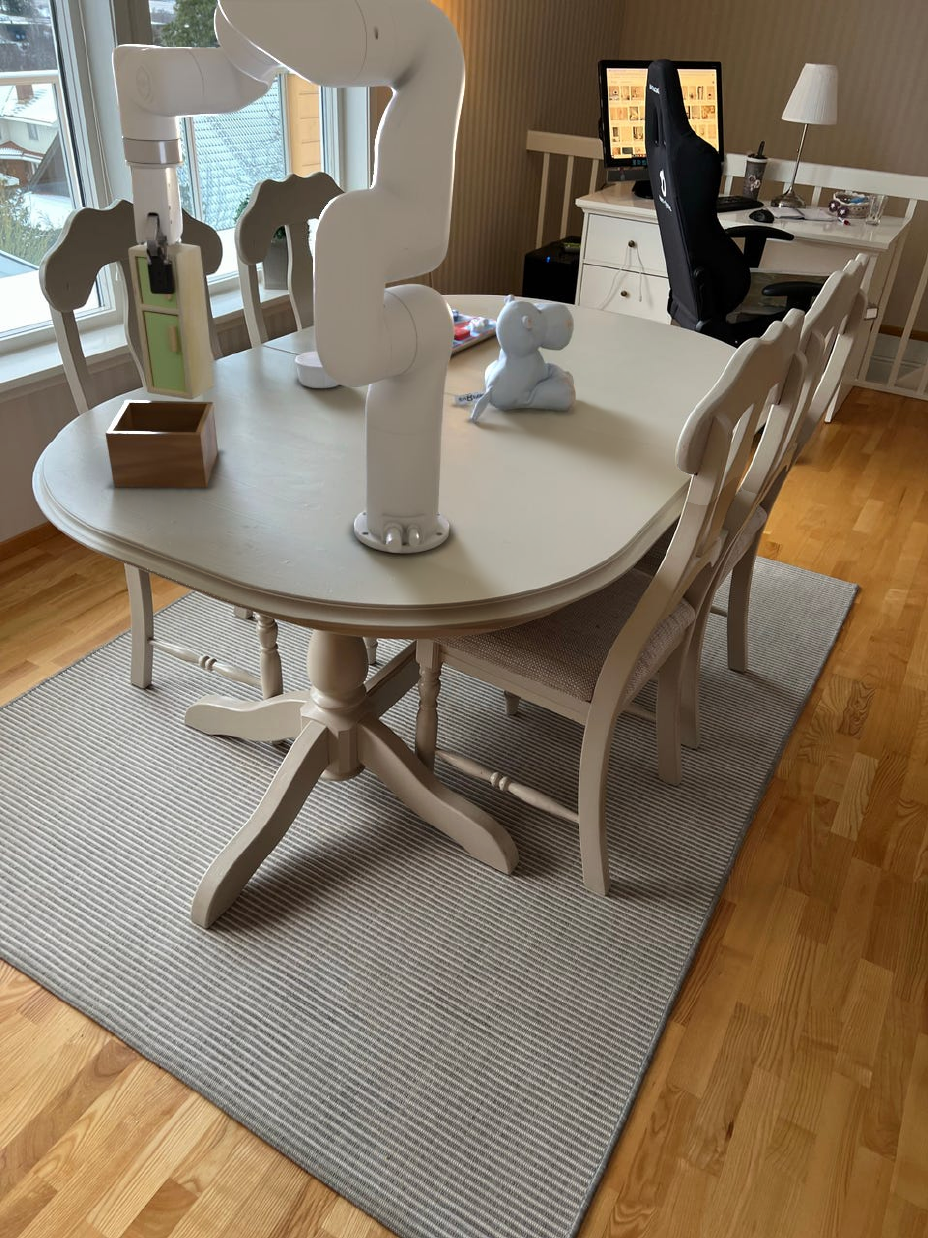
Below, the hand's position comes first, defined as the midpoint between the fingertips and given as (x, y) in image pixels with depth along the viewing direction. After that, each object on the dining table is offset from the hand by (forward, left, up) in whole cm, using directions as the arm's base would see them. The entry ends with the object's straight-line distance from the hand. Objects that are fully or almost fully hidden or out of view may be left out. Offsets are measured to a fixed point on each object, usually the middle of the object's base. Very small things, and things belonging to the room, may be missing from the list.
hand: (168, 284), depth 135 cm
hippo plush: (+16, -55, -23) cm, 62 cm away
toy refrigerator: (0, 0, -16) cm, 16 cm away
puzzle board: (+56, -41, -23) cm, 73 cm away
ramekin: (+26, -20, -23) cm, 40 cm away
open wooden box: (-13, +1, -23) cm, 26 cm away
